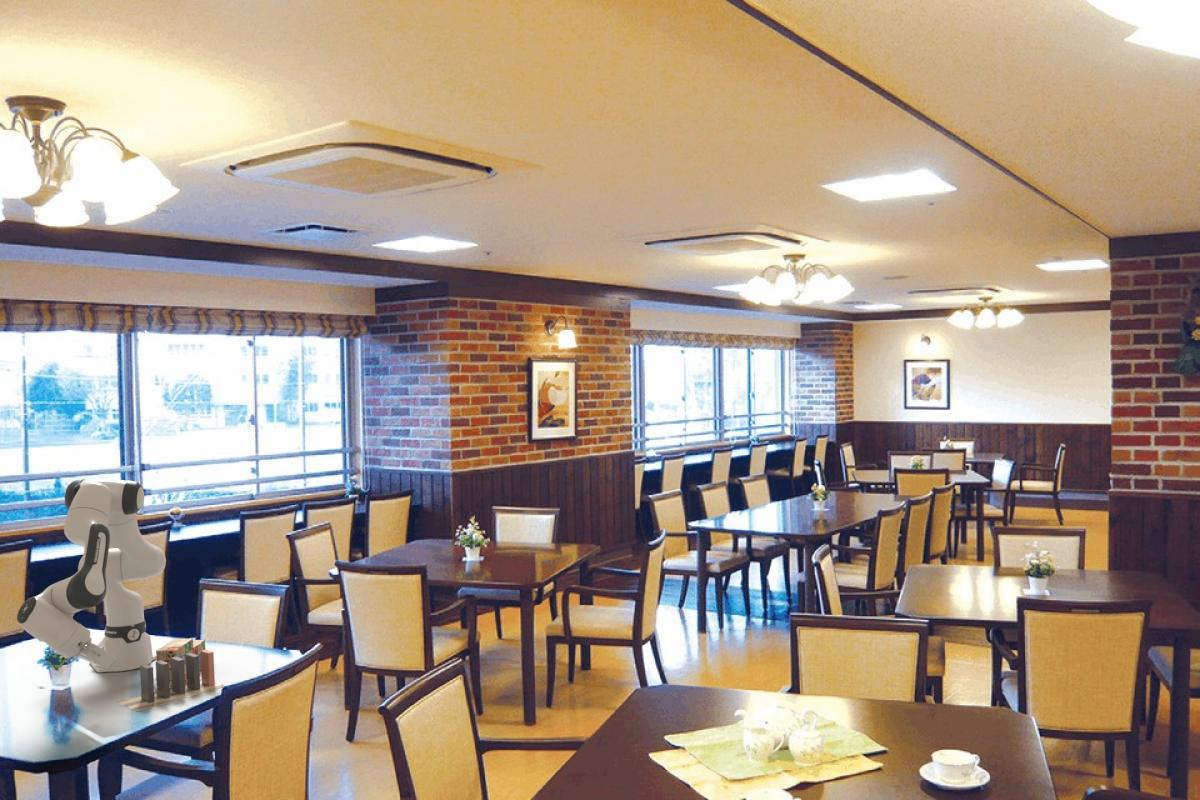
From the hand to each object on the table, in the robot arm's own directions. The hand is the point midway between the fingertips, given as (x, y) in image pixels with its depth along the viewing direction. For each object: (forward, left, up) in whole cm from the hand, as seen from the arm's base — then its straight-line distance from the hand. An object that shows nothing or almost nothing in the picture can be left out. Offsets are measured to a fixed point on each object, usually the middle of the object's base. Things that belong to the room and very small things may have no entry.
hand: (111, 667), depth 270 cm
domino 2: (0, +14, -12) cm, 18 cm away
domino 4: (0, +23, -12) cm, 26 cm away
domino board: (0, +16, -13) cm, 21 cm away
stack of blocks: (-16, +27, -14) cm, 34 cm away
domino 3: (0, +18, -12) cm, 22 cm away
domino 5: (0, +27, -12) cm, 30 cm away
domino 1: (0, +9, -12) cm, 15 cm away
